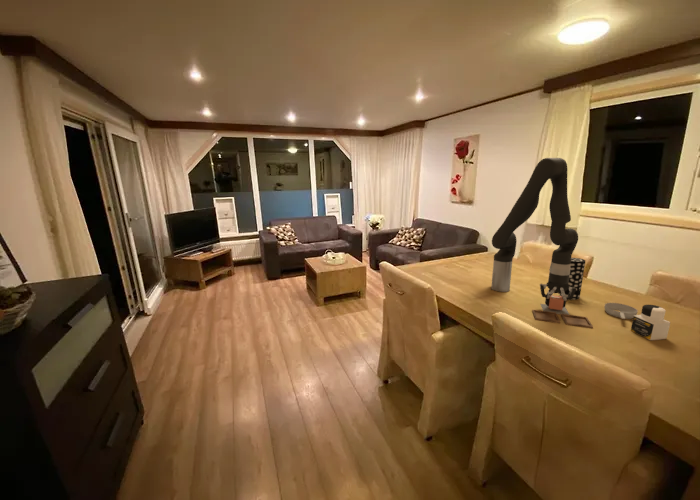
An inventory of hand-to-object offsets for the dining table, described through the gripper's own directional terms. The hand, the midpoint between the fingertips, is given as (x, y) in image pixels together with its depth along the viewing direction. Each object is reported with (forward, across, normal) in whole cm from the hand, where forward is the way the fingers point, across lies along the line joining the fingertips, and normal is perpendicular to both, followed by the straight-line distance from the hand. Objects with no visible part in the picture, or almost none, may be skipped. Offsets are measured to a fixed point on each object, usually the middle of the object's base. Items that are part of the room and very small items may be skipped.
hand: (554, 306), depth 133 cm
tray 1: (+2, -5, -10) cm, 11 cm away
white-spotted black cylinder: (+2, +10, +21) cm, 23 cm away
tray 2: (+2, +6, -10) cm, 12 cm away
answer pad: (+2, 0, 0) cm, 2 cm away
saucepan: (+2, +24, +1) cm, 24 cm away
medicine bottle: (+2, +28, -13) cm, 31 cm away
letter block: (0, 0, 0) cm, 0 cm away
